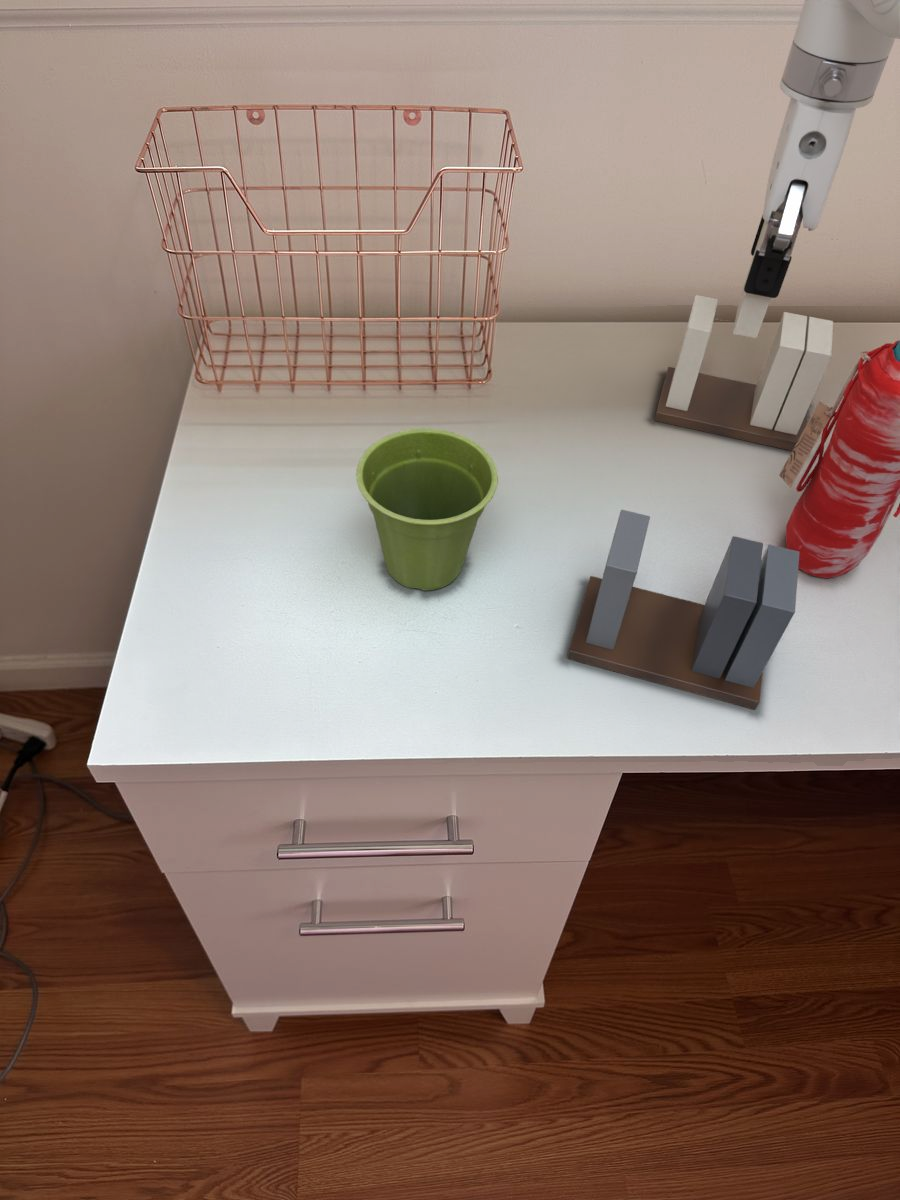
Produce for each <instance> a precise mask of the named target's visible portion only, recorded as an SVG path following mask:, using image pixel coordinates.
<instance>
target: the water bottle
mask: <svg viewBox="0 0 900 1200" xmlns="http://www.w3.org/2000/svg"><path fill="white" fill-rule="evenodd" d="M831 432H832V433H831ZM830 434H831V436H830ZM820 436H821V437H820ZM829 436H830V439H829V442H828V444H827V447H826V449H825V443H826V442H827V440H828V438H829ZM819 438H820V443H819V445H818V447H817V449H816V450H815V452H814V454H813V455H812V458H811V460H810V462H809V464H808V466H807V467H806V468H805V471H804V473H803V475H802V476H801V478H800V479H799V481H798V484H797V486H796V488H795V490H796V492H798V493H799V492H802V491H803V492H802V493H801V495H800V497H799V498H798V500H797V502H796V503H795V506H794V507H793V510H792V512H791V513H790V516H789V519H788V521H787V523H786V525H785V534H786V535H785V543H786V544H785V545H786V549H790V550H794V551H799V565H798V570H801V571H802V572H804V573H806V574H808V575H809V576H811V577H812V576H813V577H818V578H822V579H830V578H835V577H838V576H843V575H847V574H848V573H849V572H851V571H852V570H854V569H856V568H857V567H858V566H860V565H861V563H862V562H863V561H864V559H865V558H866V556H868V554H869V552H870V551H871V549H872V548H873V546H874V545H875V544H876V542H877V540H878V539H879V537H880V535H881V534H882V532H883V529H884V528H885V525H886V523H887V521H888V520H889V517H890V515H891V513H892V511H893V509H894V507H895V504H896V503H897V500H898V499H899V496H900V339H899V340H895V341H894V342H893V343H890V342H889V343H885V344H883V345H881V346H879V347H877V348H875V349H872V350H869V351H868V350H865V351H861V352H860V357H859V359H858V360H857V363H856V364H855V366H854V367H853V369H852V371H851V373H850V374H849V376H848V378H847V380H846V382H845V384H844V386H843V387H842V389H841V391H840V393H839V395H838V396H837V399H836V401H835V403H834V404H833V406H831V407H830V406H829V405H827V404H825V403H823V402H821V401H819V402H818V403H817V405H816V407H815V409H814V411H813V412H812V414H811V416H810V417H809V420H808V421H807V425H806V427H805V429H804V431H803V432H802V434H801V436H800V438H799V440H798V442H797V443H796V445H795V447H794V449H793V451H791V453H790V454H789V456H788V457H787V460H786V462H785V463H784V465H783V467H782V468H781V470H780V473H779V474H778V476H779V477H780V478H781V479H782V480H783V481H784V482H785V483H786V484H787V486H789V488H792V486H793V485H794V484H795V481H796V480H797V478H798V477H799V474H800V473H801V471H802V468H803V467H804V465H805V463H806V462H807V460H808V458H809V457H810V455H811V453H812V451H813V449H814V447H815V446H816V445H817V442H818V440H819ZM824 450H825V451H824ZM817 458H818V459H817ZM816 460H817V462H816ZM815 462H816V464H815ZM814 464H815V466H814ZM813 466H814V467H813ZM812 467H813V469H812ZM811 469H812V470H811ZM810 471H811V472H810ZM892 516H893V517H894V518H897V517H898V516H900V502H899V503H898V506H897V508H896V510H895V511H894V513H893V514H892Z"/></svg>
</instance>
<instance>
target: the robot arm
mask: <svg viewBox="0 0 900 1200" xmlns="http://www.w3.org/2000/svg"><path fill="white" fill-rule="evenodd" d="M896 39H898V40H899V39H900V0H804V2H803V6H802V10H801V13H800V15H799V19H798V23H797V26H796V29H795V32H794V35H793V40H792V43H791V45H790V49H789V53H788V56H787V59H786V63H785V66H784V70H783V73H782V76H781V79H780V83H779V87H780V90H781V91H782V92H783V94H785V95H786V96H787V97H789V98H790V99H789V101H788V106H787V109H786V112H785V114H784V118H783V121H782V124H781V125H782V126H781V128H780V131H779V135H778V138H777V142H776V145H775V150H774V153H773V158H772V162H771V166H770V170H769V174H768V179H767V184H766V191H765V198H764V203H763V210H762V215H761V218H760V222H759V225H758V227H757V230H756V233H755V237H754V240H753V243H752V247H751V250H750V255H751V256H752V257H753V255H754V252H755V249H756V246H757V243H758V240H759V236H760V233H761V230H762V227H763V224H764V221H765V222H766V223H767V227H766V230H765V234H764V237H763V240H762V244H761V247H760V250H756V253H755V256H754V259H753V262H752V265H751V268H750V267H749V268H750V271H749V270H748V271H749V274H748V273H747V274H748V277H747V276H746V277H747V280H746V279H745V280H746V284H745V287H744V291H745V292H746V293H749V294H754V295H760V296H765V297H770V298H771V299H776V298H778V297H779V295H780V292H781V290H782V287H783V283H784V281H785V278H786V276H787V272H788V270H789V268H790V264H791V261H792V258H793V257H792V253H793V251H794V247H795V244H796V242H797V241H796V240H797V238H798V234H799V231H800V229H801V224H802V225H803V229H808V230H807V231H809V232H812V231H815V230H816V229H817V228H818V226H819V224H820V221H821V218H822V214H823V212H824V208H825V206H826V202H827V200H828V197H829V193H830V191H831V189H832V184H833V182H834V179H835V177H836V174H837V170H838V168H839V165H840V162H841V159H842V156H843V154H844V150H845V148H846V144H847V141H848V137H849V135H850V132H851V128H852V124H853V121H854V117H855V113H856V110H857V109H860V108H864V107H866V106H868V105H869V104H871V102H872V101H873V98H874V96H875V94H876V93H875V92H876V90H877V87H878V85H879V83H880V80H881V77H882V74H883V72H884V70H885V67H886V64H887V61H888V59H889V56H890V54H891V51H892V49H893V46H894V43H895V41H896ZM776 212H779V213H782V217H781V220H778V219H774V217H775V214H776ZM773 226H774V227H778V230H777V232H776V235H772V236H771V233H772V230H773ZM770 236H771V238H770Z"/></svg>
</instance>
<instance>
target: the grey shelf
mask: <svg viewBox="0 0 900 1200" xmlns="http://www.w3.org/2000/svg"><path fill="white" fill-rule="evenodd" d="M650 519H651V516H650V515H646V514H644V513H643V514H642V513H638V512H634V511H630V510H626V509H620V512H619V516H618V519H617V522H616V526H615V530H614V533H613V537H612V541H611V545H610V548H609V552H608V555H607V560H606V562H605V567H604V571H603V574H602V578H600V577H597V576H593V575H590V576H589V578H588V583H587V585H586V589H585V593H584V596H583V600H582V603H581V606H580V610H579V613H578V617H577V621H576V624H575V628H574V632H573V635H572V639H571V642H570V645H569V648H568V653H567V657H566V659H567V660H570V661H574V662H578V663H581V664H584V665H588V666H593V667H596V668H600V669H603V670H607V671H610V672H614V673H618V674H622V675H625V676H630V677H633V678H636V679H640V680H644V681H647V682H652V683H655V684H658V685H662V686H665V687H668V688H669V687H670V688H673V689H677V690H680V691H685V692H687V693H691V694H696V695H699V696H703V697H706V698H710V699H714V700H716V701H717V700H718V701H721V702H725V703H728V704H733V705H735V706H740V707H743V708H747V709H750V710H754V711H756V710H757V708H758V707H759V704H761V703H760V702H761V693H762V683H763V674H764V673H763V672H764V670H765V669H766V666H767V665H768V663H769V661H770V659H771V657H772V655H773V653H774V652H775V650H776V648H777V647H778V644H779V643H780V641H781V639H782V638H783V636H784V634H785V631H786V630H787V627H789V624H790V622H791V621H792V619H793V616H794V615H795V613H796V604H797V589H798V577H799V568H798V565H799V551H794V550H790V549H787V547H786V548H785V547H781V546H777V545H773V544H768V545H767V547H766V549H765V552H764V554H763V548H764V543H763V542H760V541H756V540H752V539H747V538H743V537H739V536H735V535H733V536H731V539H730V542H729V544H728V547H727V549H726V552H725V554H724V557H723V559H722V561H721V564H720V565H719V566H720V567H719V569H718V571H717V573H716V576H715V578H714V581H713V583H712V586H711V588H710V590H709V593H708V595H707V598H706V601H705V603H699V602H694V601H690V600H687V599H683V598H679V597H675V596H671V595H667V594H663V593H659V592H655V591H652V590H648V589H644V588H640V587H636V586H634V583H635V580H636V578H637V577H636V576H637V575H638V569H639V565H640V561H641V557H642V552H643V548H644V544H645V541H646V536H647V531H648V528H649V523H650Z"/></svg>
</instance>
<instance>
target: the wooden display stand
mask: <svg viewBox="0 0 900 1200" xmlns="http://www.w3.org/2000/svg"><path fill="white" fill-rule="evenodd" d="M718 302H719V299H718V298H714V297H708V296H704V295H699V294H695V296H694V299H693V303H692V307H691V310H690V313H689V316H688V320H687V324H686V328H685V332H684V335H683V339H682V342H681V346H680V350H679V353H678V357H677V360H676V364H675V367H672V366H668V367H667V370H666V374H665V377H664V381H663V385H662V389H661V393H660V396H659V400H658V404H657V408H656V411H655V415H654V419H653V420H654V421H655V422H660V423H663V424H668V425H673V426H677V427H682V428H687V429H690V430H696V431H699V432H705V433H710V434H714V435H718V436H722V437H728V438H732V439H736V440H742V441H746V442H750V443H755V444H760V445H765V446H768V447H773V448H778V449H782V450H783V449H784V450H786V451H791V452H792V451H793V449H794V447H795V445H796V443H797V442H798V440H799V438H800V436H801V434H802V432H803V431H804V429H805V427H806V425H807V423H808V415H809V407H810V405H811V403H812V401H813V398H814V396H815V394H816V391H817V389H818V387H819V385H820V382H821V380H822V379H823V376H824V373H825V371H826V370H827V367H828V365H829V362H830V360H831V357H832V352H833V351H832V350H833V349H832V348H833V331H834V330H833V329H834V320H829V319H824V318H819V317H814V316H809V317H808V316H807V315H802V314H797V313H794V312H793V313H792V312H787V311H783V313H782V316H781V319H780V321H779V325H778V327H777V329H776V332H775V335H774V338H773V340H772V343H771V345H770V348H769V351H768V354H767V356H766V359H765V362H764V364H763V366H762V370H761V373H760V376H759V378H758V380H757V384H754V383H750V382H744V381H739V380H735V379H730V378H725V377H721V376H717V375H716V376H715V375H712V374H707V373H701V372H700V370H701V367H702V363H703V361H704V357H705V354H706V351H707V347H708V344H709V341H710V337H711V334H712V329H713V325H714V321H715V316H716V312H717V306H718Z"/></svg>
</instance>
